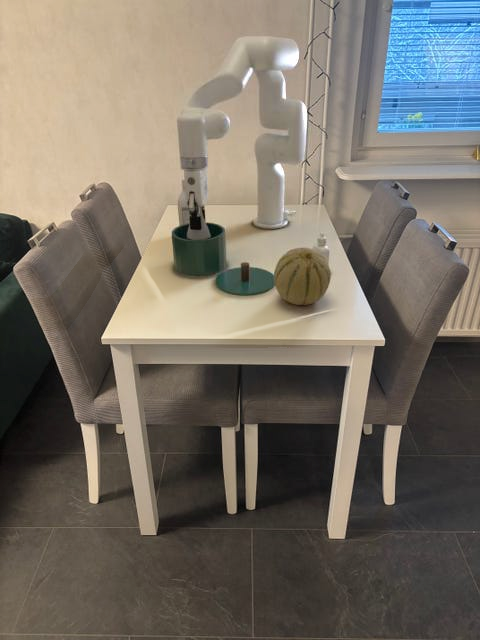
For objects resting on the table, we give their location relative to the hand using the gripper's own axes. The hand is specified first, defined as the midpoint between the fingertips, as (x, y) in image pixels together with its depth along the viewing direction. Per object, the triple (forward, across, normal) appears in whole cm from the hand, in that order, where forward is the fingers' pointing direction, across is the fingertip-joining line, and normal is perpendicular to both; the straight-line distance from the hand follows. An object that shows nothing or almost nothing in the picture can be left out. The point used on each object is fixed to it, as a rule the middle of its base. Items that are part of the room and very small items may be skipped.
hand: (198, 225), depth 145 cm
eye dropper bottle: (+13, 0, -36) cm, 38 cm away
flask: (+4, 0, 0) cm, 4 cm away
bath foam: (+13, +25, +9) cm, 30 cm away
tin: (+13, 0, 0) cm, 13 cm away
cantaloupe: (+13, -19, -31) cm, 39 cm away
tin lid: (+13, -10, -15) cm, 22 cm away
